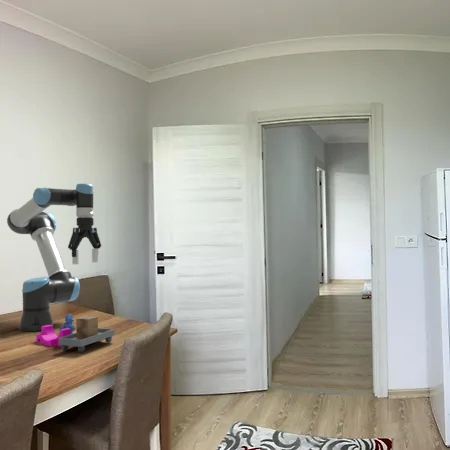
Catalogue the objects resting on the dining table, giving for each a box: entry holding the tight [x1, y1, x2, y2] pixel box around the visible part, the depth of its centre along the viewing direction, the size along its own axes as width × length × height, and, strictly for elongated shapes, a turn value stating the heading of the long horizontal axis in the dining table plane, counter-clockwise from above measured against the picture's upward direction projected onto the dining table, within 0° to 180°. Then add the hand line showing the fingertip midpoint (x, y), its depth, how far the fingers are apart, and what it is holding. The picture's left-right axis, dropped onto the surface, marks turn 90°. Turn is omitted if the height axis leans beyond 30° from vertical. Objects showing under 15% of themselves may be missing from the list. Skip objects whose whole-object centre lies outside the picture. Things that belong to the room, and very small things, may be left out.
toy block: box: [35, 325, 71, 348], centre depth 191 cm, size 15×6×8 cm, turn 54°
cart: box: [59, 327, 115, 353], centre depth 188 cm, size 11×21×5 cm, turn 157°
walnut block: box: [75, 315, 99, 339], centre depth 188 cm, size 6×6×8 cm
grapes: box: [58, 313, 76, 334], centre depth 196 cm, size 12×7×12 cm, turn 22°
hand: (85, 263), depth 212 cm, fingers open, 13 cm apart
